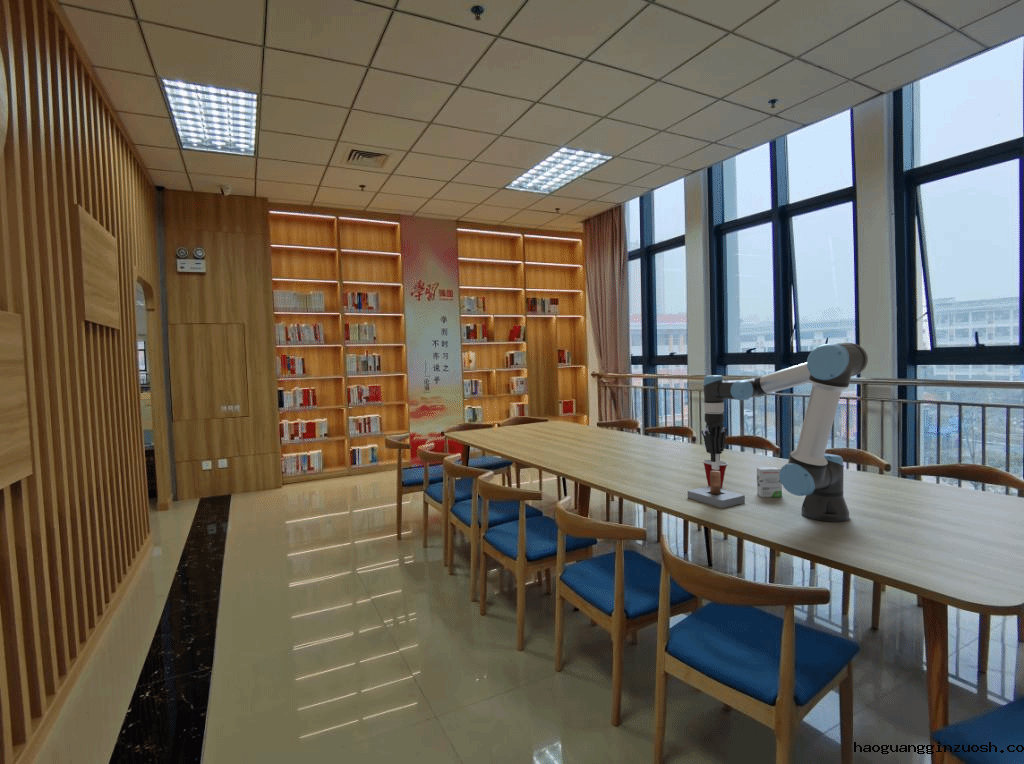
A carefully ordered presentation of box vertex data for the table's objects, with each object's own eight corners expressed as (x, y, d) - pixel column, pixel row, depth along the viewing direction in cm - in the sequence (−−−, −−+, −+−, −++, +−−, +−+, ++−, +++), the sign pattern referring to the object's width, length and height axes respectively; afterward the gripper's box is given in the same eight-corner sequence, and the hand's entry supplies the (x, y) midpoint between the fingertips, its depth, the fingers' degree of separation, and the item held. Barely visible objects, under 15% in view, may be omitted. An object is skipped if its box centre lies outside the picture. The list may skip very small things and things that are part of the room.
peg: (723, 500, 216) (722, 471, 216) (716, 502, 214) (715, 473, 214) (715, 498, 220) (714, 470, 219) (708, 499, 218) (707, 471, 217)
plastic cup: (732, 490, 231) (731, 463, 230) (707, 490, 232) (706, 463, 231) (724, 483, 242) (723, 458, 241) (700, 484, 243) (699, 458, 242)
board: (744, 502, 212) (744, 495, 212) (722, 508, 206) (722, 500, 206) (709, 492, 228) (709, 486, 228) (687, 497, 222) (687, 490, 222)
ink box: (777, 493, 222) (777, 466, 222) (782, 497, 218) (782, 469, 217) (756, 494, 224) (756, 466, 223) (760, 497, 219) (760, 469, 218)
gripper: (717, 410, 221) (719, 465, 223) (695, 413, 215) (697, 469, 217) (732, 411, 215) (734, 468, 216) (710, 414, 209) (711, 473, 210)
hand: (715, 469), depth 216 cm, fingers closed
